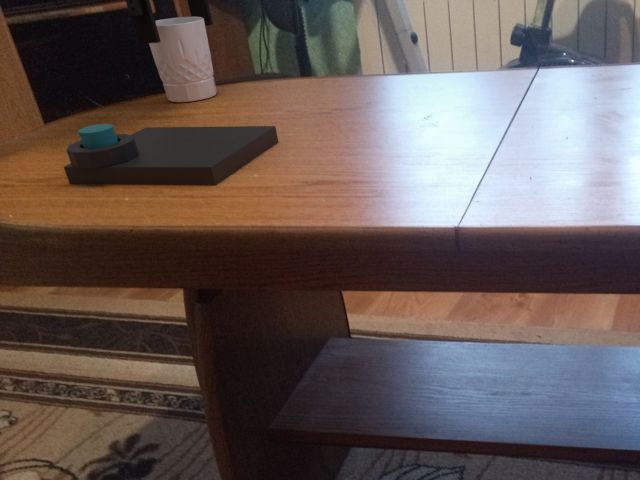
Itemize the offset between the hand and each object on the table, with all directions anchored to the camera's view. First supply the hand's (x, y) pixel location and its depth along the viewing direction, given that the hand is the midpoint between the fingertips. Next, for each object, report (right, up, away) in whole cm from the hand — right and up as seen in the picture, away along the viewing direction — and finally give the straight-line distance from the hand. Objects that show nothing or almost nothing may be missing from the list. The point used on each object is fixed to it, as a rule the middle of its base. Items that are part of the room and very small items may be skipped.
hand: (178, 34), depth 100 cm
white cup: (0, -7, +4) cm, 9 cm away
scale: (+10, -24, -24) cm, 35 cm away
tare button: (+4, -23, -28) cm, 37 cm away
